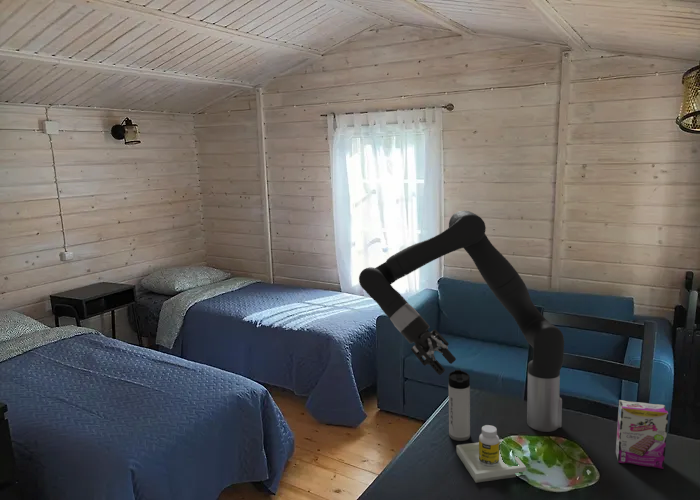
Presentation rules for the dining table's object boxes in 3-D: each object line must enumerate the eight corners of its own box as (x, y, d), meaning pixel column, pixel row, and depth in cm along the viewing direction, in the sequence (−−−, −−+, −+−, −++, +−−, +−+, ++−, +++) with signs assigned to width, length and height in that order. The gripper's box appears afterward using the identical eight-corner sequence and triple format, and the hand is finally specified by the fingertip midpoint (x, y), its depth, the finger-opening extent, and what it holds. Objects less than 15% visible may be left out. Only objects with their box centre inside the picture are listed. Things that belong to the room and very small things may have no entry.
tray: (502, 447, 150) (502, 439, 150) (525, 475, 137) (526, 466, 136) (456, 453, 148) (456, 445, 148) (475, 482, 135) (475, 473, 134)
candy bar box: (618, 463, 140) (620, 407, 137) (615, 453, 145) (617, 399, 142) (665, 470, 136) (669, 412, 133) (660, 459, 141) (664, 403, 138)
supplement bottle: (479, 466, 140) (479, 433, 139) (478, 455, 145) (478, 423, 144) (500, 467, 139) (500, 434, 138) (497, 456, 145) (498, 423, 143)
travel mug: (468, 430, 161) (468, 369, 157) (471, 441, 154) (471, 378, 151) (448, 429, 161) (447, 369, 158) (450, 441, 155) (449, 378, 151)
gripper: (407, 322, 140) (448, 369, 136) (427, 308, 152) (465, 351, 148) (390, 338, 144) (429, 384, 140) (411, 323, 156) (448, 365, 152)
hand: (448, 367), depth 144 cm, fingers open, 8 cm apart
